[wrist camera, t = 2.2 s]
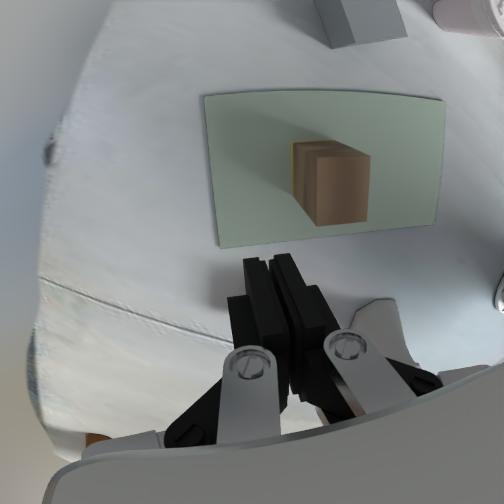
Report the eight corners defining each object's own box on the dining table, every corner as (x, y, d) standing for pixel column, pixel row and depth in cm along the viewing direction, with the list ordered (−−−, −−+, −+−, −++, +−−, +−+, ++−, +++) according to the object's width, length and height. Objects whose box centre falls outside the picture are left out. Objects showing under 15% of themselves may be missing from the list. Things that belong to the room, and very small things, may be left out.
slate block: (361, -5, 20) (388, -18, 16) (378, 41, 23) (407, 36, 18) (313, 0, 20) (334, -16, 16) (331, 49, 23) (355, 42, 19)
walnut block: (334, 140, 26) (370, 155, 20) (333, 192, 29) (366, 221, 23) (290, 141, 26) (317, 157, 20) (292, 195, 29) (316, 227, 22)
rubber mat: (443, 101, 26) (445, 101, 25) (431, 222, 32) (433, 224, 32) (203, 96, 24) (203, 96, 23) (220, 247, 30) (220, 249, 30)
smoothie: (472, 39, 22) (571, 45, 10) (437, 49, 23) (545, 52, 11) (451, -12, 19) (546, -25, 7) (412, -6, 20) (515, -29, 8)
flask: (348, 306, 36) (383, 367, 28) (400, 290, 37) (442, 343, 28) (348, 347, 40) (376, 404, 31) (395, 331, 40) (429, 382, 31)
